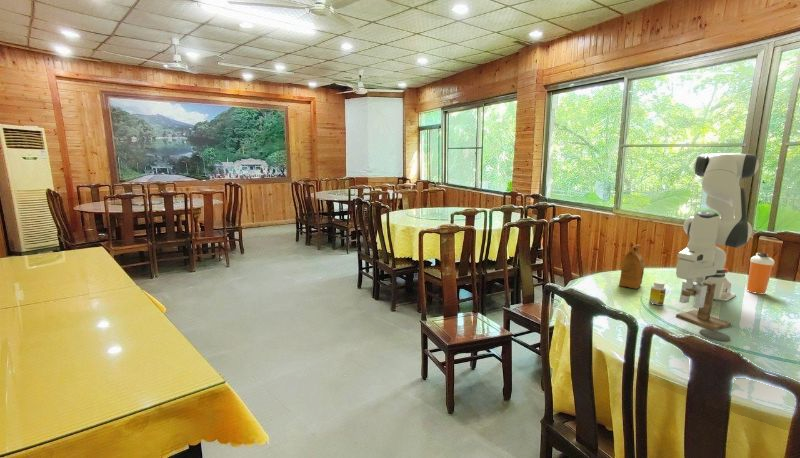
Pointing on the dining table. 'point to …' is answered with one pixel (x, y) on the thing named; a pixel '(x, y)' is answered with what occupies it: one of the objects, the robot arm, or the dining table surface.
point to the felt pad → (714, 335)
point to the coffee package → (632, 269)
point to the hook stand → (703, 310)
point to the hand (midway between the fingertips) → (694, 287)
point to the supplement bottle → (657, 293)
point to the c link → (700, 294)
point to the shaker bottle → (759, 272)
